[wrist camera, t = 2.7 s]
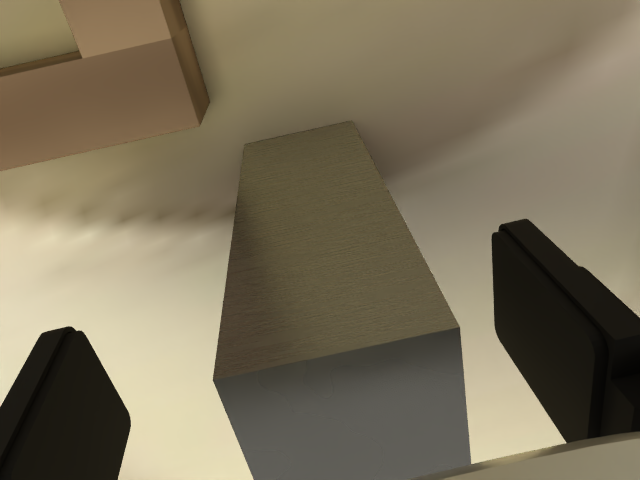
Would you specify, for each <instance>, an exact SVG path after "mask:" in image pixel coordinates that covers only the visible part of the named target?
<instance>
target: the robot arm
mask: <svg viewBox="0 0 640 480" xmlns="http://www.w3.org/2000/svg"><path fill="white" fill-rule="evenodd" d="M492 263H493V292H494V321H495V330H496V333H497V336H498V338H499V340H500V342H501V343H502V345H503V346H504V348H505V350H506V351H507V353H508V354H509V356H510V357H511V359H512V360H513V362H514V363H515V365H516V366H517V368H518V369H519V371H520V372H521V374H522V375H523V377H524V379H525V380H526V382H527V383H528V385H529V386H530V388H531V389H532V391H533V392H534V394H535V395H536V397H537V398H538V400H539V401H540V403H541V404H542V406H543V408H544V409H545V411H546V412H547V414H548V415H549V417H550V418H551V420H552V421H553V423H554V424H555V426H556V427H557V429H558V430H559V432H560V433H561V435H562V436H563V438H564V440H565V441H566V444H561V445H556V446H552V447H547V448H542V449H538V450H533V451H529V452H524V453H519V454H515V455H510V456H506V457H501V458H497V459H492V460H488V461H484V462H479V463H475V464H471V465H467V466H462V467H458V468H454V469H450V470H445V471H441V472H437V473H432V474H428V475H424V476H420V477H415V478H411V479H407V480H640V318H639V317H638V316H637V315H636V314H635V313H634V312H633V311H632V310H631V309H629V308H628V307H627V306H626V305H625V304H624V303H623V302H622V301H621V300H620V299H619V298H617V297H616V296H615V295H614V294H613V293H612V292H611V291H610V290H609V289H608V288H607V287H606V286H604V285H603V284H602V283H601V282H600V281H599V280H598V279H597V278H596V277H595V276H594V275H592V274H591V273H590V272H589V271H588V270H587V269H585V268H584V267H580V266H578V265H576V264H575V263H574V262H573V261H572V260H571V259H570V258H569V257H568V256H567V255H566V254H565V253H564V252H563V251H562V250H560V249H559V248H558V247H557V246H556V245H555V244H554V243H553V242H552V241H551V240H550V239H549V238H548V237H547V236H545V235H544V234H543V233H542V232H541V231H540V230H539V229H538V228H537V227H536V226H535V225H534V224H533V223H532V222H530V221H529V220H528V219H522V220H518V221H513V222H509V223H505V224H501V225H500V226H499V230H498V232H495V233H493V234H492ZM130 427H131V420H130V415H129V412H128V410H127V409H126V407H125V405H124V403H123V401H122V400H121V398H120V396H119V394H118V392H117V391H116V389H115V387H114V385H113V383H112V382H111V380H110V378H109V376H108V375H107V373H106V371H105V369H104V367H103V366H102V364H101V362H100V360H99V358H98V357H97V355H96V353H95V351H94V349H93V348H92V346H91V344H90V342H89V340H88V339H87V337H86V335H85V334H84V333H83V332H82V331H76V330H75V329H74V328H73V327H69V326H68V327H64V328H60V329H56V330H51V331H47V332H44V333H42V334H41V335H40V337H39V338H38V340H37V342H36V344H35V346H34V347H33V349H32V351H31V353H30V355H29V356H28V358H27V360H26V362H25V364H24V365H23V367H22V369H21V371H20V373H19V374H18V376H17V378H16V380H15V382H14V384H13V385H12V387H11V389H10V391H9V393H8V394H7V396H6V398H5V400H4V402H3V403H2V405H1V407H0V480H118V476H119V472H120V468H121V464H122V460H123V456H124V452H125V448H126V444H127V440H128V436H129V432H130Z"/></svg>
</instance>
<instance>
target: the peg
mask: <svg viewBox="0 0 640 480" xmlns="http://www.w3.org/2000/svg"><path fill="white" fill-rule="evenodd" d="M213 382H214V384H215V386H216V389H217V391H218V394H219V396H220V399H221V401H222V403H223V406H224V408H225V411H226V413H227V415H228V418H229V420H230V423H231V425H232V428H233V430H234V432H235V435H236V437H237V440H238V442H239V445H240V447H241V449H242V452H243V454H244V457H245V459H246V462H247V464H248V466H249V469H250V471H251V474H252V476H253V478H254V480H407V479H411V478H415V477H420V476H424V475H428V474H432V473H437V472H441V471H445V470H450V469H454V468H458V467H462V466H467V465H471V456H470V444H469V432H468V420H467V408H466V396H465V384H464V372H463V360H462V348H461V336H460V327H459V325H458V323H457V321H456V319H455V317H454V315H453V313H452V311H451V309H450V307H449V306H448V304H447V302H446V300H445V298H444V296H443V294H442V292H441V290H440V288H439V286H438V285H437V283H436V281H435V279H434V277H433V275H432V273H431V271H430V269H429V267H428V265H427V264H426V262H425V260H424V258H423V256H422V254H421V252H420V250H419V248H418V246H417V244H416V243H415V241H414V239H413V237H412V235H411V233H410V231H409V229H408V227H407V225H406V223H405V221H404V220H403V218H402V216H401V214H400V212H399V210H398V208H397V206H396V204H395V202H394V200H393V199H392V197H391V195H390V193H389V191H388V189H387V187H386V185H385V183H384V181H383V179H382V178H381V176H380V174H379V172H378V170H377V168H376V166H375V164H374V162H373V160H372V158H371V157H370V155H369V153H368V151H367V149H366V147H365V145H364V143H363V141H362V139H361V137H360V136H359V134H358V132H357V130H356V128H355V126H354V124H353V122H352V121H348V122H343V123H339V124H334V125H330V126H326V127H321V128H317V129H312V130H308V131H303V132H299V133H294V134H290V135H285V136H281V137H276V138H272V139H267V140H263V141H258V142H254V143H249V144H245V145H244V152H243V159H242V167H241V174H240V182H239V189H238V196H237V204H236V211H235V219H234V226H233V234H232V241H231V249H230V256H229V264H228V271H227V278H226V286H225V293H224V301H223V308H222V316H221V323H220V331H219V338H218V345H217V353H216V360H215V368H214V375H213Z"/></svg>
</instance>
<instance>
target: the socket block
mask: <svg viewBox="0 0 640 480" xmlns="http://www.w3.org/2000/svg"><path fill="white" fill-rule="evenodd" d="M59 2H60V4H61V7H62V9H63V12H64V14H65V17H66V19H67V21H68V24H69V26H70V29H71V31H72V34H73V36H74V38H75V41H76V43H77V46H78V48H79V51H76V52H72V53H67V54H63V55H59V56H54V57H50V58H46V59H41V60H37V61H32V62H28V63H24V64H19V65H15V66H11V67H6V68H2V69H0V171H2V170H7V169H11V168H16V167H20V166H25V165H29V164H34V163H38V162H43V161H47V160H51V159H56V158H60V157H65V156H69V155H74V154H78V153H83V152H87V151H92V150H96V149H100V148H105V147H109V146H114V145H118V144H123V143H127V142H132V141H136V140H141V139H145V138H149V137H154V136H158V135H163V134H167V133H172V132H176V131H181V130H185V129H190V128H194V127H198V126H200V124H201V122H202V120H203V117H204V115H205V113H206V110H207V108H208V106H209V103H210V101H209V97H208V94H207V91H206V87H205V84H204V81H203V78H202V74H201V71H200V68H199V64H198V61H197V58H196V55H195V51H194V48H193V45H192V42H191V38H190V35H189V32H188V28H187V25H186V22H185V19H184V15H183V12H182V9H181V5H180V2H179V0H59Z"/></svg>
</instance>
